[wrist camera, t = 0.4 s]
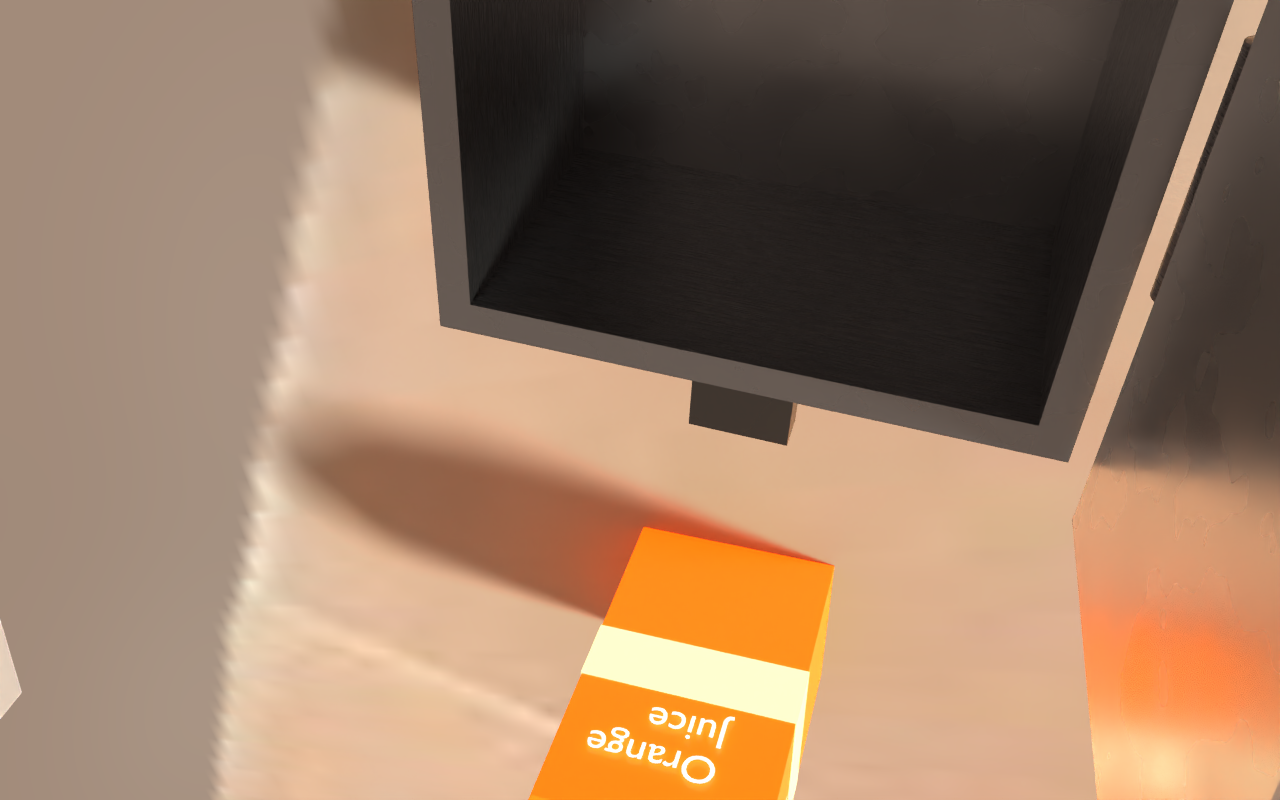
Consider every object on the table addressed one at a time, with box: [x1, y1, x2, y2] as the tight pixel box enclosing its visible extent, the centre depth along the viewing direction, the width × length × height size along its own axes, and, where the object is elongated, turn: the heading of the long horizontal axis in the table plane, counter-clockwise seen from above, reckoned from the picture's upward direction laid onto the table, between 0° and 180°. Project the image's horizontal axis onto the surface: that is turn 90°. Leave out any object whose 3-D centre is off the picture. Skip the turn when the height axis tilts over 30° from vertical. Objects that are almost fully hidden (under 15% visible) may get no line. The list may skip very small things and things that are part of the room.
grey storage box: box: [412, 0, 1234, 462], centre depth 32 cm, size 18×23×11 cm
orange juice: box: [528, 527, 834, 800], centre depth 48 cm, size 8×9×20 cm
